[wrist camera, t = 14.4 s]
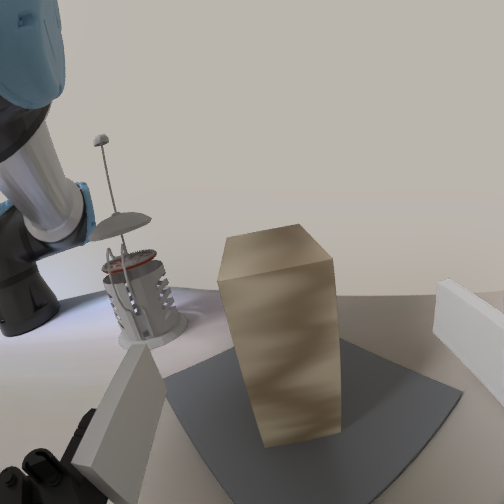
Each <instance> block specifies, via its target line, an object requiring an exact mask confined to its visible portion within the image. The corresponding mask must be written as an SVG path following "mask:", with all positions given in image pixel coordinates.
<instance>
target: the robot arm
mask: <svg viewBox="0 0 504 504" xmlns="http://www.w3.org/2000/svg"><path fill="white" fill-rule="evenodd" d="M64 85H65V57H64V46H63V40H62V35H61V21H60V15H59V8H58V3H57V0H0V191H1V192H2V193H3V194H4V195H5V196H6V197H7V198H8V199H9V200H7V201H5V202H3V203H0V329H1V332H2V334H3V335H5V336H14V335H18V334H22V333H24V332H27V331H29V330H32V329H34V328H36V327H38V326H39V325H41V324H43V323H44V322H46V321H47V320H49V319H50V318H51V317H52V316H54V315H55V314H56V313H57V311H58V310H59V308H60V305H59V303H58V300H57V298H56V296H55V294H54V293H53V292H52V290H51V289H50V288H49V287H48V285H47V284H46V282H45V281H44V279H43V278H42V277H41V275H40V273H39V271H38V268H37V265H36V261H38V260H40V259H43V258H46V257H48V256H51V255H54V254H57V253H60V252H63V251H65V250H68V249H71V248H74V247H77V246H81V245H82V246H83V245H85V244H86V243H88V242H90V240H89V239H88V237H89V235H90V234H91V232H92V231H93V229H94V228H95V227H96V223H95V215H94V210H93V205H92V200H91V196H90V192H89V188H88V186H87V184H86V183H85V182H81V183H79V182H76V183H74V182H73V181H71V180H70V179H68V178H66V177H65V175H64V173H63V170H62V168H61V165H60V162H59V160H58V157H57V154H56V152H55V149H54V146H53V143H52V140H51V137H50V135H49V131H48V128H47V125H46V122H45V119H46V117H47V115H48V113H49V110H50V107H51V103H52V100H54V99H56V98H58V97H59V96H60V95H61V93H62V92H63V89H64ZM433 333H434V334H435V335H436V336H437V337H438V338H439V339H440V340H441V341H442V342H443V343H444V344H445V345H446V346H447V347H448V348H449V349H450V350H451V351H452V352H453V353H454V354H455V355H456V356H457V357H458V358H459V359H460V360H461V361H462V362H463V363H464V364H465V365H466V366H467V367H468V369H469V370H470V371H471V372H472V373H473V374H474V375H475V376H476V377H477V378H478V379H479V380H480V381H481V382H482V383H483V385H484V386H485V387H486V388H487V389H488V390H489V391H490V392H491V393H492V394H493V396H494V397H495V398H496V399H497V400H498V401H499V402H500V403H501V405H502V406H503V407H504V314H503V313H501V312H500V311H498V310H497V309H496V308H494V307H493V306H491V305H490V304H488V303H487V302H485V301H484V300H482V299H481V298H479V297H478V296H476V295H475V294H473V293H472V292H470V291H469V290H467V289H465V288H464V287H462V286H461V285H459V284H458V283H456V282H455V281H453V280H451V279H450V278H448V279H445V280H442V281H439V282H437V293H436V305H435V316H434V325H433ZM166 394H167V388H166V386H165V383H164V381H163V379H162V377H161V375H160V373H159V370H158V368H157V366H156V364H155V361H154V359H153V357H152V355H151V352H150V350H149V348H148V345H147V343H143V344H134V345H131V346H130V348H129V350H128V352H127V354H126V355H125V357H124V359H123V361H122V363H121V364H120V366H119V368H118V370H117V372H116V374H115V375H114V377H113V379H112V381H111V383H110V385H109V387H108V389H107V390H106V392H105V394H104V396H103V398H102V400H101V402H100V404H99V406H98V408H97V409H92V408H91V409H90V410H89V411H88V412H87V413H86V414H85V415H84V416H83V418H82V419H81V421H80V423H79V425H78V429H76V431H75V433H74V437H72V439H71V441H70V443H69V445H68V447H67V449H66V451H65V453H64V455H63V457H62V459H61V461H60V462H59V461H58V460H57V458H56V457H55V456H54V455H53V454H52V453H51V452H50V451H48V450H47V449H43V448H39V449H35V450H33V451H31V452H30V453H28V455H27V456H26V457H25V458H24V461H23V463H22V469H23V470H24V471H25V472H26V473H27V474H28V475H29V476H26V475H25V474H24V473H23V472H22V471H21V470H20V469H19V468H17V467H13V466H11V467H7V468H6V469H4V470H3V471H2V472H1V474H0V504H107V500H108V499H109V500H110V501H112V502H113V503H114V504H137V502H138V498H139V494H140V490H141V486H142V482H143V478H144V474H145V470H146V466H147V462H148V458H149V455H150V451H151V447H152V443H153V440H154V436H155V432H156V429H157V425H158V422H159V418H160V415H161V411H162V407H163V404H164V401H165V397H166Z"/></svg>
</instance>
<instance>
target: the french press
mask: <svg viewBox="0 0 504 504" xmlns="http://www.w3.org/2000/svg"><path fill="white" fill-rule="evenodd" d="M108 142H109V139H108V137H107V136H106V135H104V134H103V135H98V136H97V137H95V139H94V146H101V148H102V154H103V160H104V165H105V170H106V175H107V180H108V184H109V189H110V194H111V197H112V202H113V206H114V211H115V213H113V214H112V216H111V217H109V218H107V219H105V220H104V221H102V222H100V223H99V224H98V225H97V226H96V227H95V228H94V229H93V231H92V232H91V234H90V235H89V237H88V239H89V240H90V241H98V240H103V239H107V238H111V237H115V236H118V235H121V238H122V241H123V244H122V245H121V256H117V257H115V256H113V255H112V252H111V249H110V248H108V249H107V254H106V256H107V263H106V264H105V265H103V267H102V271H103V272H105V273H109V275H108V276H106V277H105V278H104V280H103V283H104V286H105V289H106V291H107V292H108V294H107V295H108V297H109V299H110V301H111V305H112V308H113V310H114V311H115V312H114V313H115V316H116V318H117V320H118V323H119V326H120V328H121V330H122V331H121V333H120V336H119V345H121V346H122V347H123V348H124V349H127V350H129V348H130V346H131V345H134V344H143V343H147V345H148V348H149V350H150V349H153V348H156V347H159V346H162V345H165V344H167V343H169V342H170V341H172V340H174V339H175V338H177V337H178V336H179V335H180V334H181V333H182V332H183V331H184V330H185V329H186V327H187V323H188V320H187V318H186V316H185V315H183V314H181V313H178V312H177V309H176V306H174V307H171V305H172V303H173V302H174V299H173V297H172V298H167V297H168V295H169V294H170V293H171V290H170V288H168V289H167V290H163V288H164V287H165V286H166V285H168V283H169V282H168V280H167V278H166V279H165V280H164V281H159V279H160V278H161V276H164V275H165V273H166V272H165V269H164V266H163V263H162V262H161V261H158V260H152V259H154V257H155V256H156V254H157V253H156V251H154V250H150V249H149V250H145V251H144V250H142V251H139V252H138V251H137V252H135V253H132V254H131V253H130V254H128V253H127V250H126V246H125V243H124V239H123V235H122V234H124V233H127V232H129V231H132V230H135V229H137V228H140V227H142V226H144V225H146V224H148V223H149V222H150V221H151V219H152V218H150V217H149V216H146V215H144V214H142V213H134V212H128V213H120V212H116V207H115V204H114V199H113V195H112V190H111V186H110V181H109V176H108V171H107V166H106V161H105V156H104V150H103V145H104V144H107V143H108ZM123 250H124V254H123ZM109 254H110V256H111V257H112V258H113V260H111V261H109ZM125 283H127V284H128V287H127V288H126V287H125ZM157 285H160V286H159V288H157ZM129 292H130V293H131V296H130V297H129V296H128V293H129ZM160 293H161V294H164V295H163V297H160ZM111 298H113V300H112V299H111ZM132 300H134V304H133V305H132V304H131V301H132ZM164 302H166V303H168V304H167V305H166V306H165V305H163V304H164ZM114 307H116V309H117V310H115V309H114ZM135 308H137V312H136V313H135V312H134V309H135ZM117 316H119V317H120V319H119V318H118V317H117Z"/></svg>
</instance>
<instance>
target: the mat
mask: <svg viewBox="0 0 504 504" xmlns="http://www.w3.org/2000/svg"><path fill="white" fill-rule="evenodd" d="M339 344H340V368H341V432H340V433H337V434H333V435H329V436H324V437H320V438H316V439H311V440H307V441H302V442H297V443H291V444H286V445H280V446H274V447H267V448H265V447H264V444H263V441H262V438H261V435H260V432H259V428H258V425H257V422H256V419H255V416H254V412H253V409H252V406H251V402H250V399H249V396H248V392H247V389H246V385H245V382H244V379H243V375H242V372H241V368H240V365H239V361H238V358H237V354H236V350H235V347H233V348H231V349H229V350H227V351H224V352H222V353H220V354H218V355H216V356H214V357H212V358H209V359H207V360H205V361H203V362H201V363H198V364H196V365H194V366H192V367H189V368H187V369H185V370H182V371H180V372H178V373H175V374H173V375H171V376H168V377H166V378H163V381H164V383H165V386H166V388H167V394H166V397H167V399H168V401H169V403H170V405H171V407H172V408H173V410H174V412H175V414H176V416H177V417H178V419H179V421H180V423H181V424H182V426H183V428H184V429H185V431H186V433H187V434H188V436H189V438H190V439H191V441H192V442H193V444H194V446H195V447H196V449H197V450H198V452H199V454H200V455H201V457H202V458H203V460H204V461H205V463H206V464H207V466H208V467H209V469H210V470H211V471H212V473H213V474H214V476H215V477H216V479H217V480H218V481H219V483H220V484H221V486H222V487H223V488H224V490H225V491H226V492H227V494H228V495H229V496H230V498H231V499H232V500H233V502H234V503H235V504H370V503H371V502H372V501H373V500H374V499H375V498H376V497H377V496H378V495H380V494H381V493H382V492H383V491H384V490H385V489H386V488H387V487H388V486H389V485H390V484H391V483H392V482H393V481H394V480H395V479H396V478H397V477H398V476H399V475H400V474H401V473H402V472H403V471H404V469H405V468H406V467H407V466H408V465H409V464H410V463H411V462H412V461H413V459H414V458H415V457H416V456H417V455H418V454H419V453H420V451H421V450H422V449H423V448H424V447H425V445H426V444H427V443H428V442H429V440H430V439H431V438H432V437H433V435H434V434H435V433H436V431H437V430H438V429H439V427H440V426H441V425H442V423H443V422H444V421H445V419H446V418H447V416H448V415H449V414H450V412H451V411H452V409H453V408H454V406H455V405H456V403H457V402H458V400H459V399H460V397H461V395H462V391H460V390H457V389H455V388H452V387H450V386H447V385H445V384H442V383H440V382H438V381H435V380H433V379H430V378H428V377H426V376H423V375H421V374H419V373H416V372H414V371H412V370H409V369H407V368H405V367H402V366H400V365H398V364H396V363H393V362H391V361H389V360H387V359H384V358H382V357H380V356H378V355H375V354H373V353H371V352H369V351H367V350H364V349H362V348H360V347H358V346H356V345H353V344H351V343H349V342H347V341H345V340H343V339H341V338H339Z"/></svg>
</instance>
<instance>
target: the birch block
mask: <svg viewBox="0 0 504 504" xmlns="http://www.w3.org/2000/svg"><path fill="white" fill-rule="evenodd" d="M217 282H218V286H219V290H220V294H221V298H222V302H223V306H224V310H225V313H226V317H227V321H228V325H229V328H230V332H231V336H232V340H233V343H234V347H235V350H236V354H237V358H238V361H239V365H240V368H241V372H242V375H243V379H244V382H245V385H246V389H247V392H248V396H249V399H250V402H251V406H252V409H253V412H254V416H255V419H256V422H257V425H258V428H259V432H260V435H261V438H262V441H263V444H264V447H265V448H267V447H274V446H280V445H286V444H291V443H297V442H302V441H307V440H311V439H316V438H320V437H324V436H329V435H333V434H337V433H340V432H341V368H340V344H339V326H338V311H337V298H336V287H335V276H334V266H333V258H332V257H331V256H330V255H329V254H328V253H327V252H326V251H325V250H324V249H323V248H322V247H321V246H320V245H319V244H318V243H317V242H316V241H315V240H314V239H313V238H312V237H311V236H310V235H309V234H308V233H307V232H306V231H305V229H304V228H303V227H302V226H300V224H296V225H291V226H285V227H280V228H275V229H269V230H264V231H259V232H253V233H248V234H243V235H239V236H233V237H228V238H227V240H226V244H225V248H224V253H223V257H222V262H221V267H220V271H219V276H218V280H217Z"/></svg>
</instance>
